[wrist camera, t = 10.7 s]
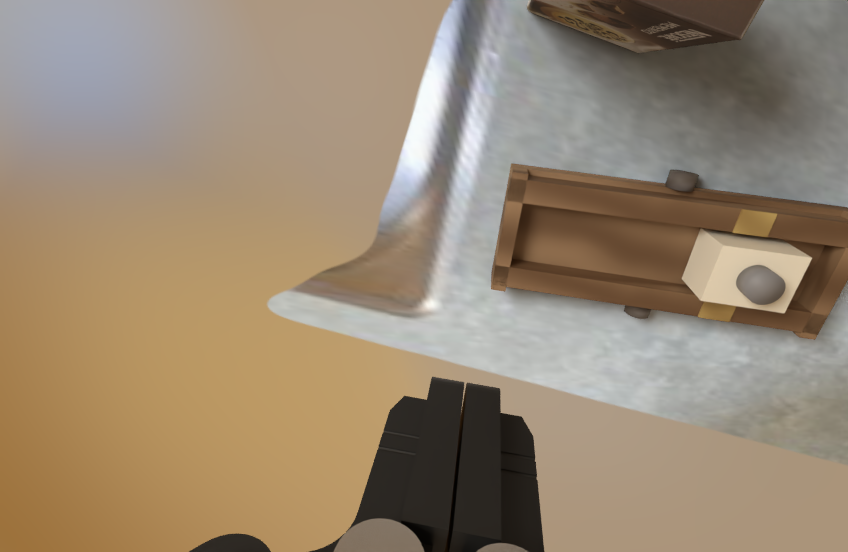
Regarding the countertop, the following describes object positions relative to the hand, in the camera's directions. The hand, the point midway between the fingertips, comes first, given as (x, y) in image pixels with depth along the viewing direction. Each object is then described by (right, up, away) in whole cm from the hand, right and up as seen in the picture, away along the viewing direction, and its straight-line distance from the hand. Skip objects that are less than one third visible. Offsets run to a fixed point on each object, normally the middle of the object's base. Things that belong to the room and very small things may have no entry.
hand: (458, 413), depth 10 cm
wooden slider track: (+19, +6, +29) cm, 35 cm away
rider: (+24, +4, +27) cm, 36 cm away
